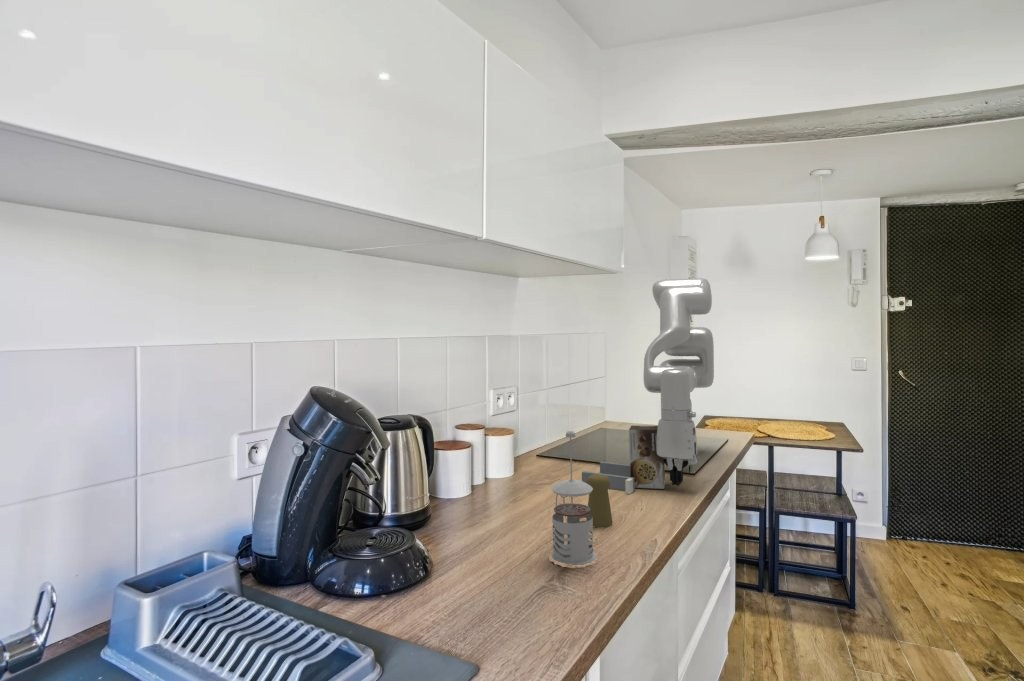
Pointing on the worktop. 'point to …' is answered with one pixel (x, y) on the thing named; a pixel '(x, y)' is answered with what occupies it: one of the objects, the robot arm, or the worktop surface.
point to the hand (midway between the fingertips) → (676, 484)
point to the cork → (599, 500)
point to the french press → (572, 522)
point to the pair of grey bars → (615, 476)
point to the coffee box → (645, 458)
